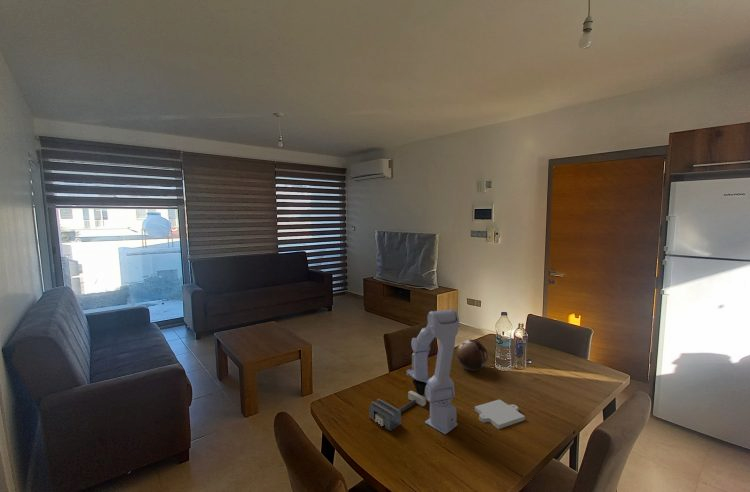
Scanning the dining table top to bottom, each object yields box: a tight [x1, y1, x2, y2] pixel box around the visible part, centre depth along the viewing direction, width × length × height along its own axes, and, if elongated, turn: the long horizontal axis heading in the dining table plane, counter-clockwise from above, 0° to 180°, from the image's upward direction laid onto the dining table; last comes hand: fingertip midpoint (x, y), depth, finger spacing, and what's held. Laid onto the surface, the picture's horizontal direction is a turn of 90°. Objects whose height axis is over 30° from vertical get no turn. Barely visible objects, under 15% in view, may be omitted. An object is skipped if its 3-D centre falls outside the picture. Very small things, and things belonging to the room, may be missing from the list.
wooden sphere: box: [456, 339, 489, 372], centre depth 167 cm, size 15×15×15 cm
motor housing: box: [369, 398, 402, 432], centre depth 126 cm, size 11×6×6 cm, turn 43°
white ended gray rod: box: [374, 390, 427, 427], centre depth 131 cm, size 8×24×3 cm, turn 133°
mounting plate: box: [474, 398, 526, 430], centre depth 129 cm, size 18×13×2 cm
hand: (420, 396), depth 140 cm, fingers closed, pressing on white ended gray rod
